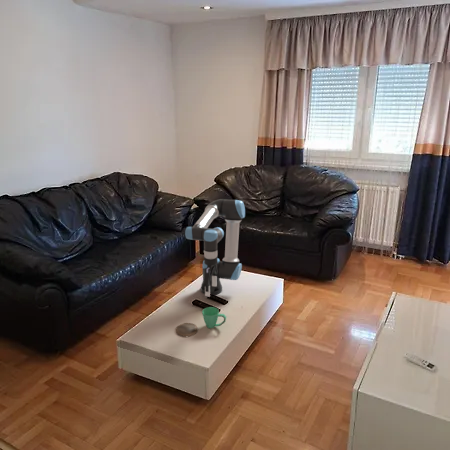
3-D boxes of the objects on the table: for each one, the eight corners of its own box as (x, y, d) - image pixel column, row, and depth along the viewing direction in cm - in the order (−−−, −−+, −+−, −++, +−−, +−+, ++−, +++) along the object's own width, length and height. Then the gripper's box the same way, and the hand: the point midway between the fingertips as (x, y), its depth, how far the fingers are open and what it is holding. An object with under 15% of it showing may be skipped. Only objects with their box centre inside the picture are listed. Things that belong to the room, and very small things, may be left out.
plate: (180, 322, 239) (179, 321, 239) (200, 325, 237) (200, 324, 236) (172, 335, 227) (172, 333, 227) (193, 338, 225) (193, 336, 224)
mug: (199, 328, 233) (199, 313, 230) (206, 320, 242) (206, 305, 239) (223, 333, 228) (222, 318, 225) (229, 324, 237) (229, 310, 234)
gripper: (210, 249, 238) (211, 281, 244) (197, 264, 215) (198, 299, 221) (222, 250, 236) (222, 282, 242) (210, 265, 213) (211, 301, 219)
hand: (211, 291), depth 231 cm, fingers open, 13 cm apart
